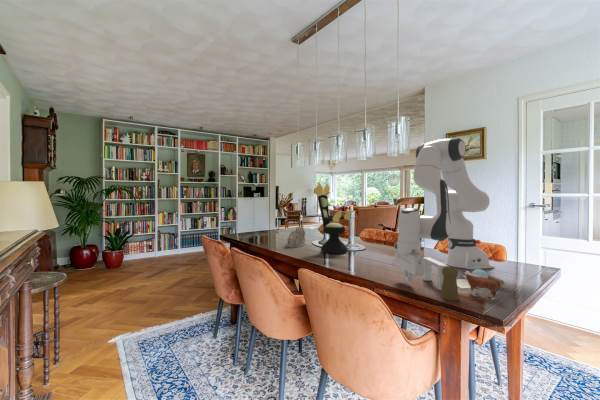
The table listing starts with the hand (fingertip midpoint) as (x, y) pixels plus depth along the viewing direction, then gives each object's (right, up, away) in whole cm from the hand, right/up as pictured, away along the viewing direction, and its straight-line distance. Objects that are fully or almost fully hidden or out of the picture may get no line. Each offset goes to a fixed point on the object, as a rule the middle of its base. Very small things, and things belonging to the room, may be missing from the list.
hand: (408, 280), depth 127 cm
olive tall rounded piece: (+10, -2, -14) cm, 18 cm away
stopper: (+35, -2, +2) cm, 35 cm away
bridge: (+11, -2, +1) cm, 11 cm away
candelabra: (-25, 0, +69) cm, 73 cm away
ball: (+30, +1, +2) cm, 30 cm away
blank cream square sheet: (+25, -2, +2) cm, 25 cm away
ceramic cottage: (-49, +1, +92) cm, 104 cm away
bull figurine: (+22, -2, -13) cm, 25 cm away
